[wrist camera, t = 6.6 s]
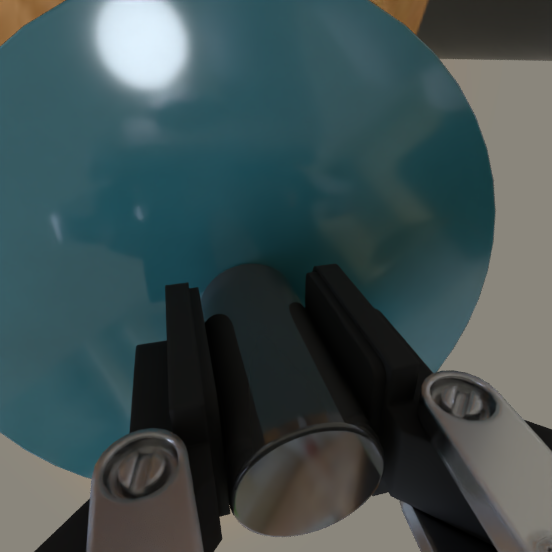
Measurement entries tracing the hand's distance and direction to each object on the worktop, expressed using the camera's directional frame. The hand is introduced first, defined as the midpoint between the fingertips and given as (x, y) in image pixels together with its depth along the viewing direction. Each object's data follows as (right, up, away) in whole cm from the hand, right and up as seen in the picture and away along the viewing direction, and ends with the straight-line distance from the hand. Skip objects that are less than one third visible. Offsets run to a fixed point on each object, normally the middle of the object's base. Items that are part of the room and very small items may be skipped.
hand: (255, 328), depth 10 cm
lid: (0, +1, +1) cm, 2 cm away
